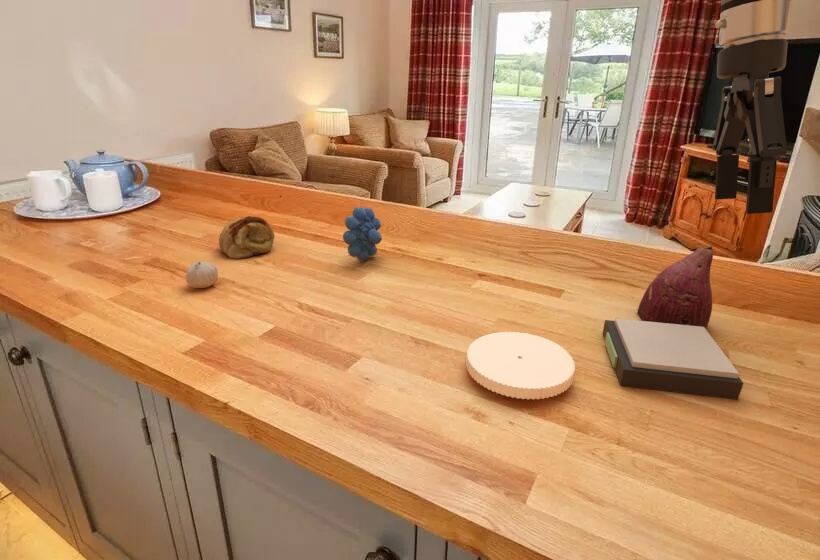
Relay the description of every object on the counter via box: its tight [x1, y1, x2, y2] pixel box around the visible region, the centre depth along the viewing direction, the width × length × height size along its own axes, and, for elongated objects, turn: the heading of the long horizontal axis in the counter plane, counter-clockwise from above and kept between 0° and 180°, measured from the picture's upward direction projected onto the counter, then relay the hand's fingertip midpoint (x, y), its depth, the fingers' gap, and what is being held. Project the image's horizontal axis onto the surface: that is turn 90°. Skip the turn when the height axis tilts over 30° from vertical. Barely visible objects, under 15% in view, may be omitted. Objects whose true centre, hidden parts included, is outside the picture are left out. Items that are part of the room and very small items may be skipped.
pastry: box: [218, 215, 275, 260], centre depth 109 cm, size 14×12×8 cm
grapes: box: [342, 206, 383, 262], centre depth 101 cm, size 12×7×12 cm, turn 147°
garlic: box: [185, 260, 219, 289], centre depth 90 cm, size 6×5×5 cm
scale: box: [602, 318, 744, 400], centre depth 68 cm, size 14×14×3 cm
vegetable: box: [637, 244, 714, 330], centre depth 78 cm, size 10×10×15 cm
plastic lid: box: [465, 331, 576, 400], centre depth 65 cm, size 14×14×2 cm
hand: (740, 205), depth 70 cm, fingers open, 13 cm apart
